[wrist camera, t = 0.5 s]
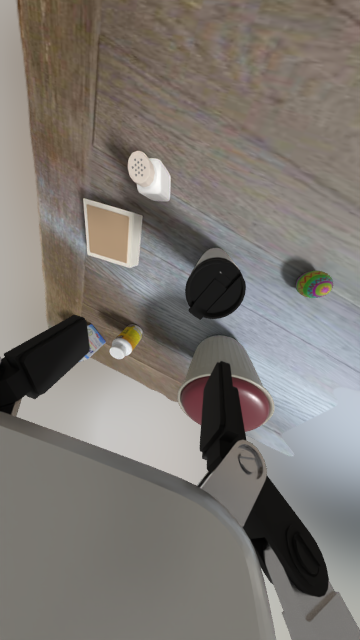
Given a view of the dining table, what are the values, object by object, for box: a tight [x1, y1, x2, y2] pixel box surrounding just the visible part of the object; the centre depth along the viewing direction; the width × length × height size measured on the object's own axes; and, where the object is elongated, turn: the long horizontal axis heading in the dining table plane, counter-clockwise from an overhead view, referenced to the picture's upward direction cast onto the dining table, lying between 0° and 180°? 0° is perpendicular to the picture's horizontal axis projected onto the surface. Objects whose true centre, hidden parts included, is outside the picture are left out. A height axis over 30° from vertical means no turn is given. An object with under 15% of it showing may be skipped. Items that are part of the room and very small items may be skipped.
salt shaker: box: [128, 151, 171, 201], centre depth 23 cm, size 4×4×10 cm
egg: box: [296, 271, 333, 298], centre depth 28 cm, size 5×5×6 cm
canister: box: [177, 335, 274, 432], centre depth 34 cm, size 18×18×21 cm
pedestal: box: [83, 198, 143, 268], centre depth 31 cm, size 10×10×4 cm
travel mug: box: [185, 248, 246, 320], centre depth 24 cm, size 6×7×20 cm
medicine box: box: [79, 324, 106, 362], centre depth 46 cm, size 8×4×9 cm, turn 26°
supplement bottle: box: [110, 324, 143, 359], centre depth 41 cm, size 6×6×10 cm
